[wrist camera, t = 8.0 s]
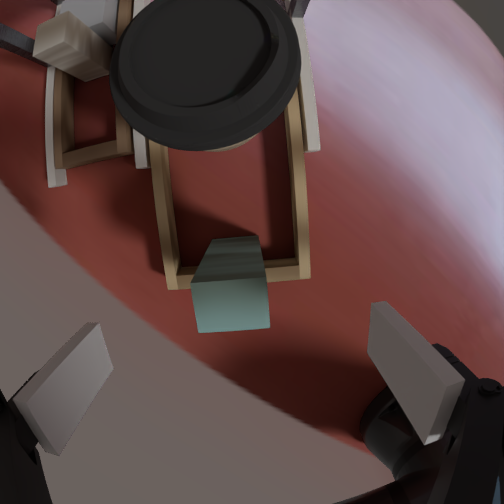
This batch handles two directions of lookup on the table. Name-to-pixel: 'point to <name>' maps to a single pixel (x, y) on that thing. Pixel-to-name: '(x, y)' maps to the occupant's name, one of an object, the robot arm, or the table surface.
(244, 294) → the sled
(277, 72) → the coffee cup
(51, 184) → the lane rails
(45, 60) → the sled
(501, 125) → the table surface
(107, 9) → the grey block
